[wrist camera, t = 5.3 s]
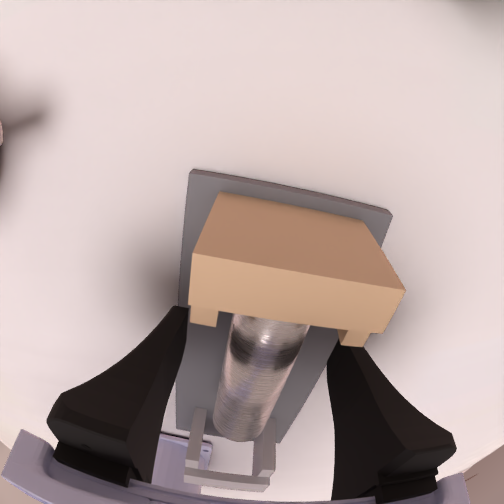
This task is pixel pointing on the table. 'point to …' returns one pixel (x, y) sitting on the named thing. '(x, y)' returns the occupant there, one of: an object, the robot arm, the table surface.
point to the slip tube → (254, 373)
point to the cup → (1, 134)
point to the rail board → (216, 337)
